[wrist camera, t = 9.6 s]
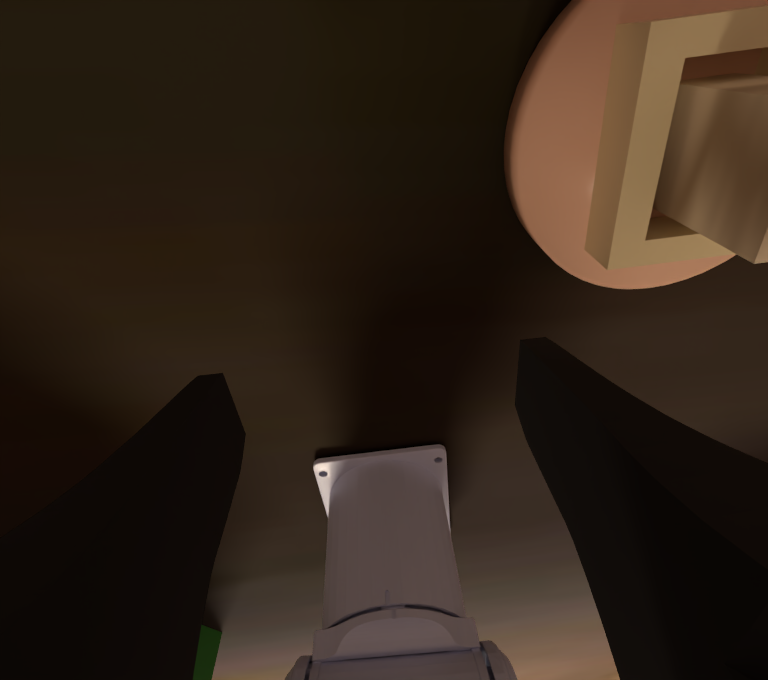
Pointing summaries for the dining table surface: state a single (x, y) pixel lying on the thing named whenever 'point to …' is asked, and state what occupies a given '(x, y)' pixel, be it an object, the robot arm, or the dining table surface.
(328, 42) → the dining table surface
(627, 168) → the tan rounded piece
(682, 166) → the tall wooden block
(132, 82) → the dining table surface
